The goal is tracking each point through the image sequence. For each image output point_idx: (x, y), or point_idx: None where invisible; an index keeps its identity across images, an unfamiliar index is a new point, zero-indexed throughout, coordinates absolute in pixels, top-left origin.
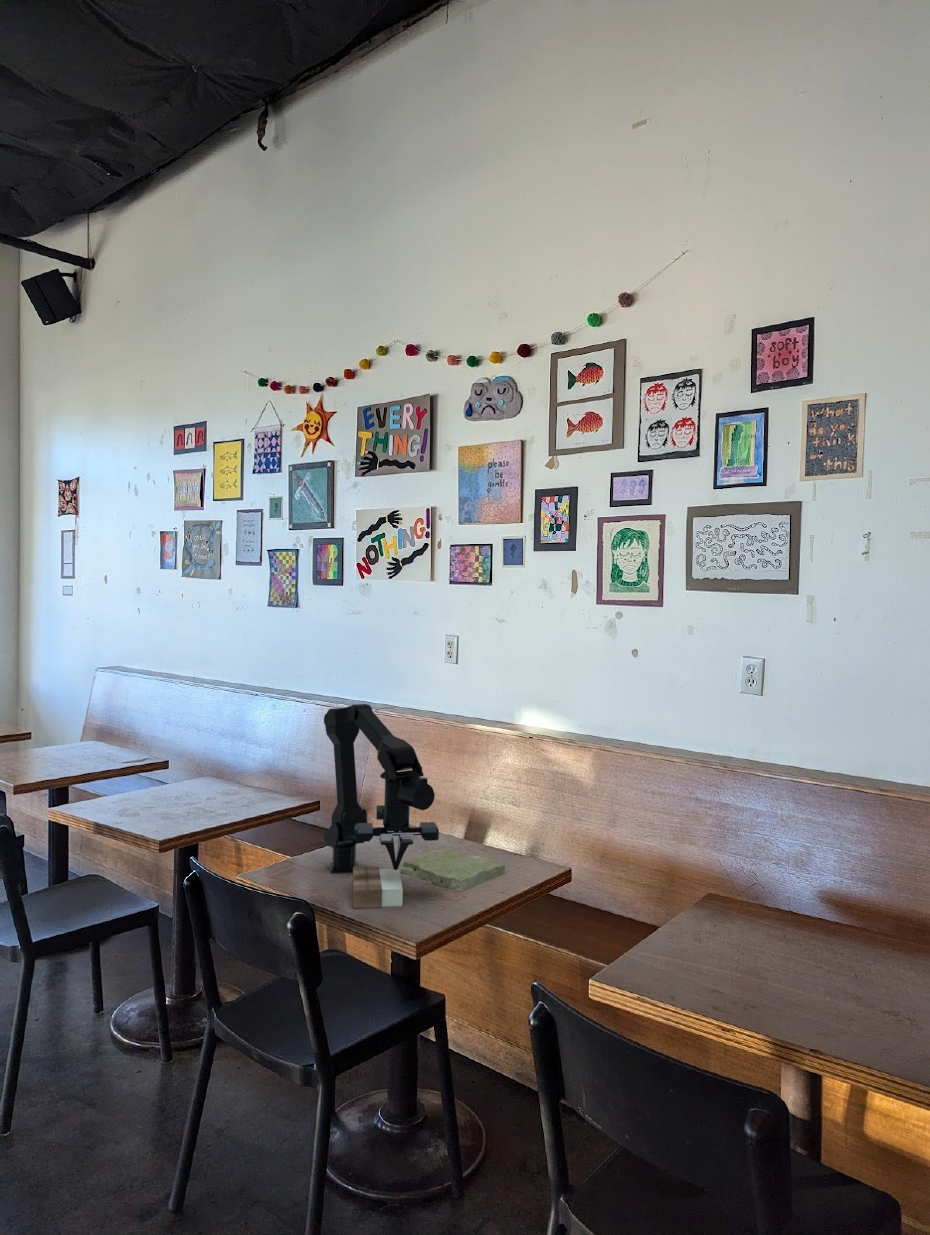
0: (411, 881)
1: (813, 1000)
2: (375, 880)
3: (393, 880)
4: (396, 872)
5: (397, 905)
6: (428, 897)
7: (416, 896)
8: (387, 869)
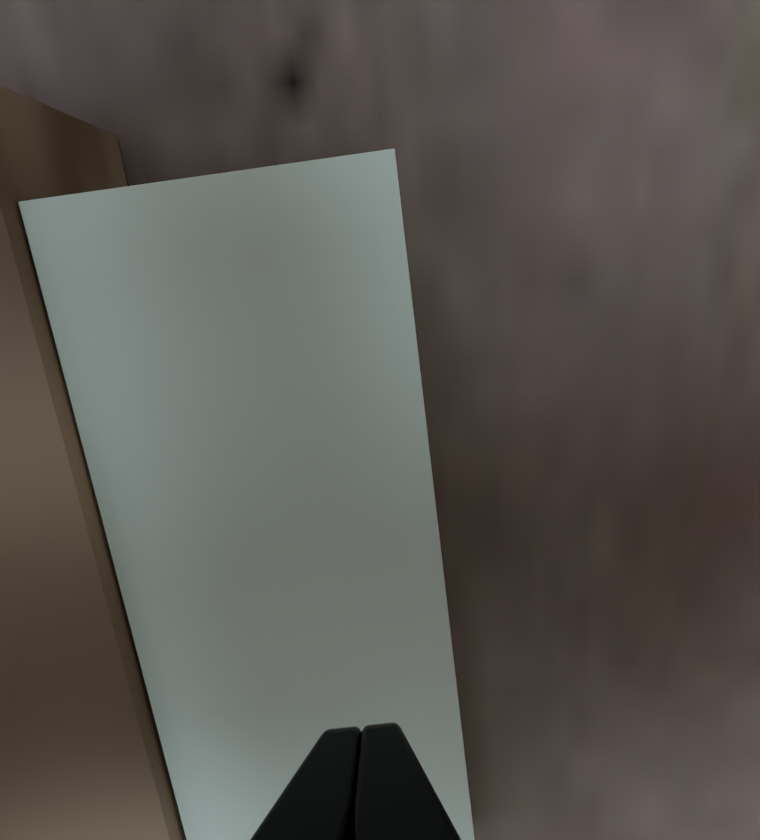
0: (577, 25)
1: None
2: (90, 835)
3: None
4: (370, 385)
5: None
6: (747, 607)
7: (616, 584)
8: (182, 217)
